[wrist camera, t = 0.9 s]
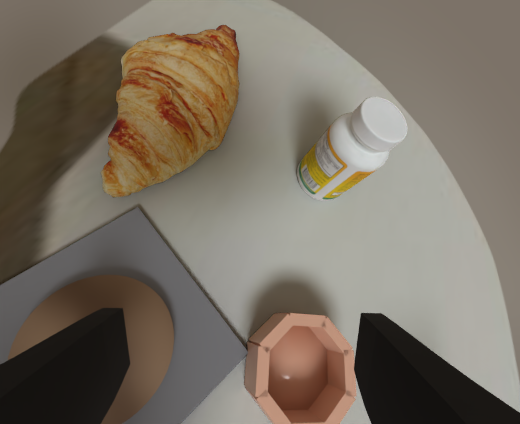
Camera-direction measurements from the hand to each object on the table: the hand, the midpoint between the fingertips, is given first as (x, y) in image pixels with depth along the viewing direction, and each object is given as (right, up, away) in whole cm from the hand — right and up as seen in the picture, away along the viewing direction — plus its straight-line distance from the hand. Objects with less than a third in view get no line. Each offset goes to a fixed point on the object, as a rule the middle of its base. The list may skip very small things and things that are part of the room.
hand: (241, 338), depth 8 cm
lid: (-10, -5, +9) cm, 14 cm away
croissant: (-7, +13, +18) cm, 23 cm away
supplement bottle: (+7, +7, +20) cm, 22 cm away
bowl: (+3, -8, +12) cm, 15 cm away
